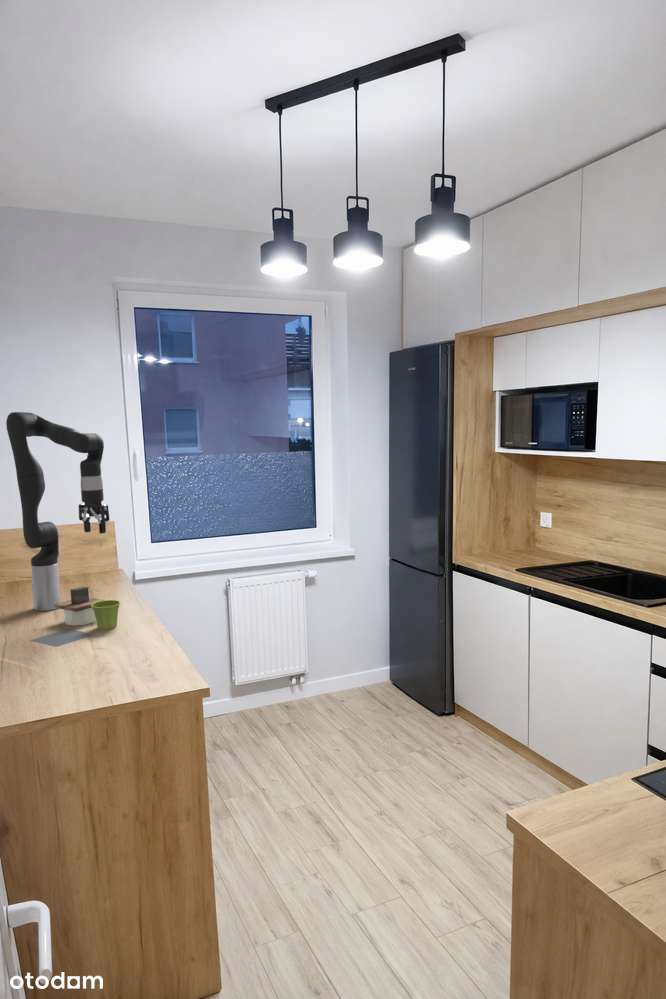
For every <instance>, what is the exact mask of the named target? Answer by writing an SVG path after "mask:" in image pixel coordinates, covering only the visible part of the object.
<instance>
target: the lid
mask: <svg viewBox="0 0 666 999" xmlns="http://www.w3.org/2000/svg"><path fill="white" fill-rule="evenodd" d="M89 593H90V592H89V587H87V586H84V585H83V586H79V587H75V588H70V600H65V601H62V602H61V603H58V604H55V608H58V609H59V610H60V609H61V610H69V611H74V612H78V611H81V610H85V609H88V608H92V607H91V605H92V604H93V603H95V602H99V601H105V600H106V599H100V598H95V597H90V594H89Z"/></svg>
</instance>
